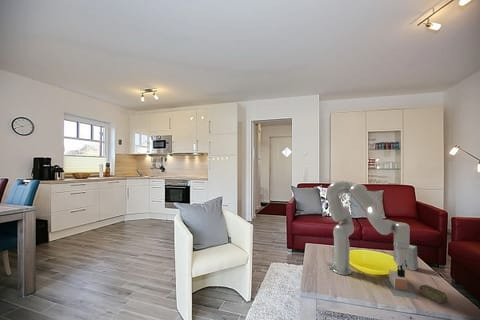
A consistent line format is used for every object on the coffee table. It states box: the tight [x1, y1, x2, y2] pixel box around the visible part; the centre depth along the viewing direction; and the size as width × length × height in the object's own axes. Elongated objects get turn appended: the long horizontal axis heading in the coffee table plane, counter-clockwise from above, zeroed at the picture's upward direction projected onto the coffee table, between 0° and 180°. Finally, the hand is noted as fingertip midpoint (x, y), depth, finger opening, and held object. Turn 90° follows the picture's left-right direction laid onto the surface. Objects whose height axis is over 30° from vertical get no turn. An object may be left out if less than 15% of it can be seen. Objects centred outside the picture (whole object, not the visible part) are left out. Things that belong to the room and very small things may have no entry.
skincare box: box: [406, 244, 419, 272], centre depth 164 cm, size 8×7×16 cm
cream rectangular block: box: [388, 269, 408, 291], centre depth 140 cm, size 6×6×11 cm
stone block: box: [418, 284, 448, 304], centre depth 128 cm, size 6×12×5 cm, turn 21°
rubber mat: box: [382, 278, 419, 300], centre depth 136 cm, size 12×20×1 cm, turn 163°
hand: (401, 276), depth 134 cm, fingers closed
